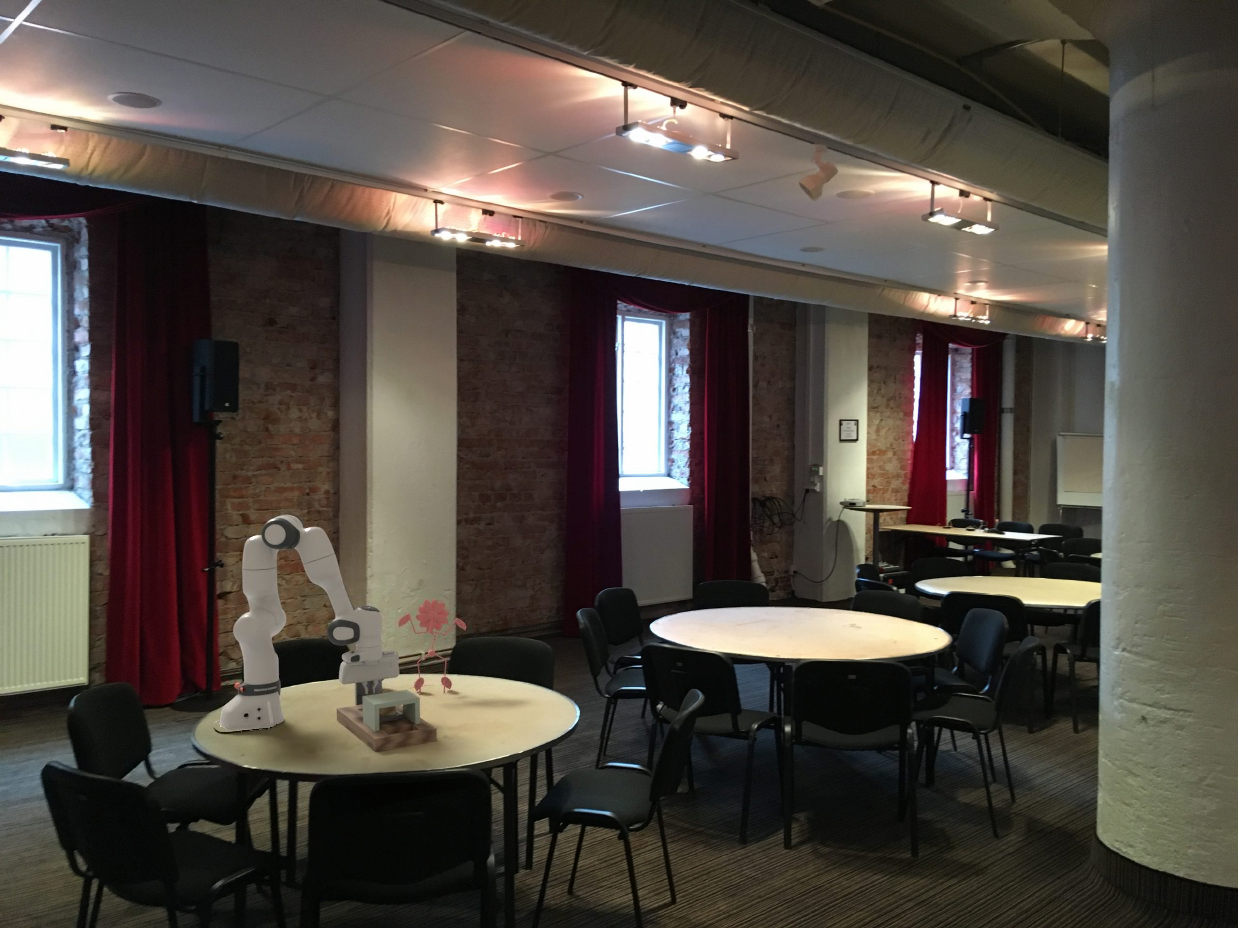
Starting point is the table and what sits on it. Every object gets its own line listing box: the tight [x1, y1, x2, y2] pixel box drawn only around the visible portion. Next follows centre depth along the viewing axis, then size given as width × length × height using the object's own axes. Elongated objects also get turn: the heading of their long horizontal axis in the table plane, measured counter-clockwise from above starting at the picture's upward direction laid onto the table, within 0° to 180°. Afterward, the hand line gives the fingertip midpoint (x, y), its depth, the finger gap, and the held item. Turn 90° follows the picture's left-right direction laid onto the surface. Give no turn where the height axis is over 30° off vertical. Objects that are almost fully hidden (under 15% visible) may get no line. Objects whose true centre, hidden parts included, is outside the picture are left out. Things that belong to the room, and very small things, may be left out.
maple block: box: [379, 706, 396, 717], centre depth 318 cm, size 5×5×5 cm
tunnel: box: [363, 689, 421, 731], centre depth 314 cm, size 15×12×8 cm
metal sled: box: [354, 679, 403, 723], centre depth 325 cm, size 9×22×10 cm, turn 32°
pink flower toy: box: [398, 599, 467, 695], centre depth 372 cm, size 15×26×35 cm, turn 96°
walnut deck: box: [336, 705, 438, 753], centre depth 320 cm, size 20×41×4 cm, turn 32°
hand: (369, 693), depth 332 cm, fingers closed
